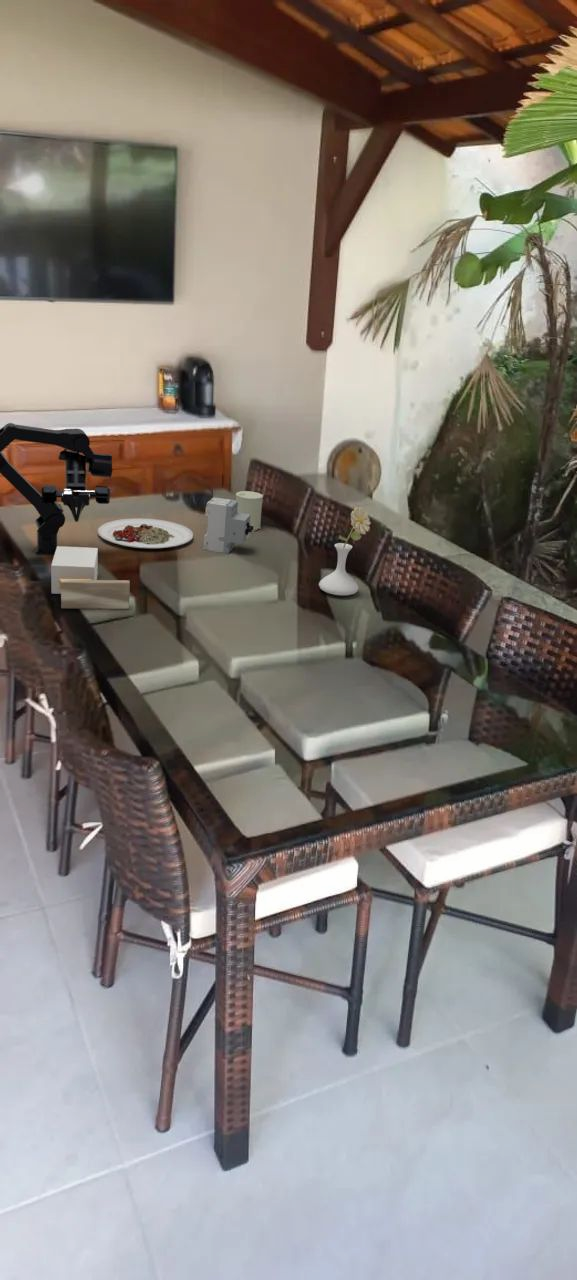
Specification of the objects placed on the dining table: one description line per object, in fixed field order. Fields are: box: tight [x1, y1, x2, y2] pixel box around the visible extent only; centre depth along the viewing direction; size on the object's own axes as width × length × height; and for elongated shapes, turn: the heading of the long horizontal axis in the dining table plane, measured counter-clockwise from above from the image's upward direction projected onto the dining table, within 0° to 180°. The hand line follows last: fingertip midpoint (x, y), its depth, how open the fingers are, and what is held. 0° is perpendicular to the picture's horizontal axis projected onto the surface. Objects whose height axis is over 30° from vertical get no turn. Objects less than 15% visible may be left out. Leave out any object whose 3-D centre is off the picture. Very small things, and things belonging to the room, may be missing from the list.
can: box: [235, 490, 264, 529], centre depth 311 cm, size 9×9×12 cm
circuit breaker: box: [202, 497, 254, 554], centre depth 287 cm, size 8×14×15 cm, turn 78°
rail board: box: [60, 579, 131, 610], centre depth 235 cm, size 3×17×7 cm, turn 102°
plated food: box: [97, 517, 194, 550], centre depth 293 cm, size 30×30×3 cm
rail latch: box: [59, 579, 91, 590], centre depth 238 cm, size 1×8×2 cm, turn 102°
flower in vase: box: [318, 506, 371, 596], centre depth 259 cm, size 13×11×25 cm
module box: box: [50, 545, 99, 595], centre depth 249 cm, size 16×11×8 cm
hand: (76, 521), depth 259 cm, fingers closed
